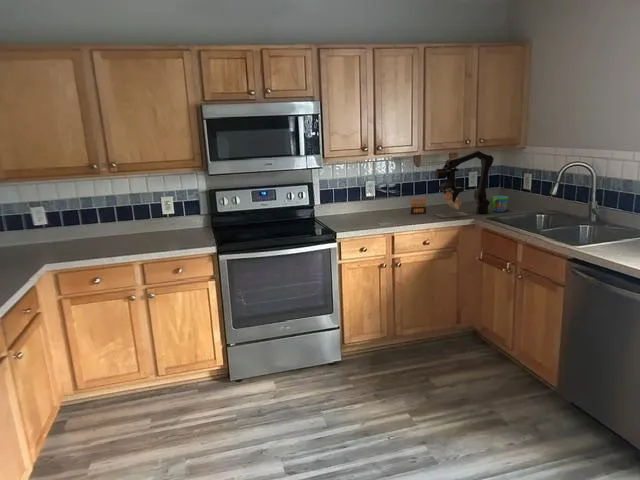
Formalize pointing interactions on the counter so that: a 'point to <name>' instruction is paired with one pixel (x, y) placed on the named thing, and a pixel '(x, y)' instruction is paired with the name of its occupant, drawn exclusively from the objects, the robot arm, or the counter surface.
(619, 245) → the counter surface
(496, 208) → the snack cup
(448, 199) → the birch block
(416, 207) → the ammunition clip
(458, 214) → the rubber mat
